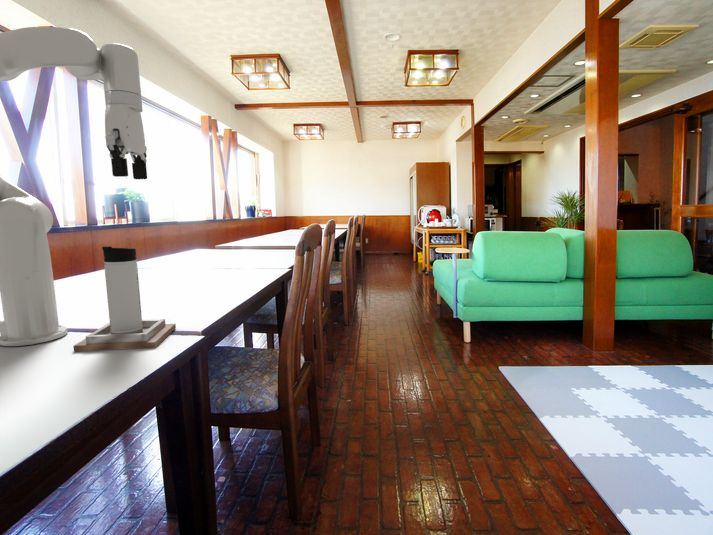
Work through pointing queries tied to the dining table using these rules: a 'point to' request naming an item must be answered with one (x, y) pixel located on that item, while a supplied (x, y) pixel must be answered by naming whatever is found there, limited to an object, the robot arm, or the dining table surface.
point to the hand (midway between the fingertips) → (131, 177)
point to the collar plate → (127, 337)
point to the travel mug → (122, 290)
